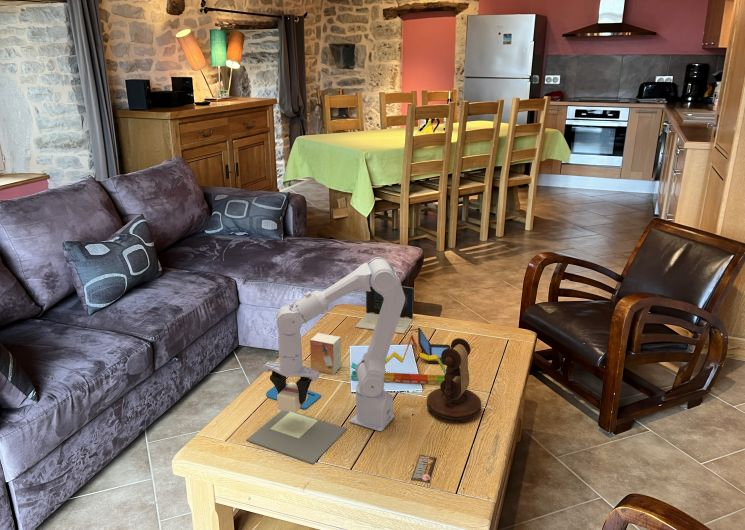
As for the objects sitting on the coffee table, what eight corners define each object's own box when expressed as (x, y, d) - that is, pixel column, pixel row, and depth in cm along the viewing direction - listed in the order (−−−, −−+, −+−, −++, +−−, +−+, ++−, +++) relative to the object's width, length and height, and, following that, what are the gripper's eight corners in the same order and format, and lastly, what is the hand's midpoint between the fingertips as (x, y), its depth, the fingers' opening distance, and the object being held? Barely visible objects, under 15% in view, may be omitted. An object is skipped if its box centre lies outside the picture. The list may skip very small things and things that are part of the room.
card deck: (295, 413, 154) (295, 399, 152) (277, 409, 155) (276, 395, 154) (307, 398, 160) (307, 385, 158) (290, 395, 161) (289, 381, 160)
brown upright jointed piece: (469, 430, 158) (473, 361, 151) (417, 414, 164) (419, 348, 158) (488, 403, 170) (492, 338, 163) (439, 389, 177) (441, 327, 170)
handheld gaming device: (280, 380, 180) (322, 393, 173) (280, 384, 181) (322, 397, 174) (262, 393, 174) (305, 407, 167) (262, 397, 174) (305, 411, 167)
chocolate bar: (430, 487, 138) (430, 484, 138) (409, 483, 139) (409, 480, 139) (438, 457, 148) (438, 455, 148) (418, 454, 149) (419, 451, 149)
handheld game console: (452, 365, 191) (453, 344, 188) (417, 364, 191) (418, 343, 189) (450, 347, 202) (451, 327, 200) (417, 346, 203) (418, 326, 201)
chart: (351, 381, 182) (350, 336, 177) (352, 376, 185) (351, 331, 180) (453, 387, 178) (455, 340, 174) (453, 381, 182) (455, 335, 177)
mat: (346, 429, 158) (346, 428, 158) (312, 464, 145) (312, 462, 145) (283, 409, 167) (283, 408, 167) (246, 441, 154) (246, 439, 154)
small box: (310, 370, 188) (309, 339, 184) (318, 362, 193) (317, 332, 189) (334, 375, 185) (333, 343, 181) (341, 366, 190) (341, 336, 186)
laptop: (355, 328, 217) (354, 294, 212) (366, 314, 228) (366, 282, 224) (403, 335, 211) (404, 300, 207) (413, 320, 223) (413, 287, 218)
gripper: (323, 350, 154) (325, 397, 158) (273, 341, 159) (276, 386, 163) (310, 362, 147) (312, 411, 152) (258, 353, 152) (262, 400, 157)
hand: (292, 399), depth 157 cm, fingers closed on card deck, 5 cm apart
